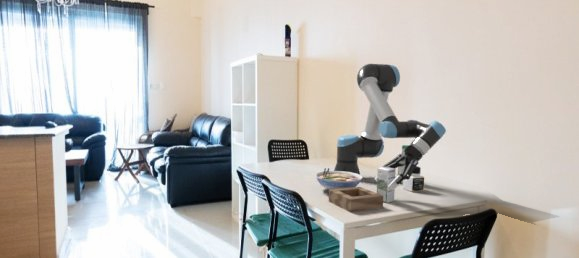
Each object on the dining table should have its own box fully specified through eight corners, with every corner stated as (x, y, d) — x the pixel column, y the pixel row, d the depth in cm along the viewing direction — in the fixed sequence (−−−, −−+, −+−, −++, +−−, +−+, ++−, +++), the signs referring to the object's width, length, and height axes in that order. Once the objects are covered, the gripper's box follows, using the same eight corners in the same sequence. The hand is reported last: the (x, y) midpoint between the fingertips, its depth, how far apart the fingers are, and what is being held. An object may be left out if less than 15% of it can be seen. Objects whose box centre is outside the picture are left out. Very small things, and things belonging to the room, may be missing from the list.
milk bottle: (401, 184, 188) (403, 146, 186) (394, 181, 195) (396, 144, 194) (415, 184, 189) (417, 146, 188) (407, 181, 197) (409, 144, 196)
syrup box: (394, 201, 157) (396, 168, 155) (386, 203, 153) (388, 169, 152) (383, 198, 161) (385, 166, 160) (375, 200, 157) (377, 167, 156)
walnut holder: (328, 201, 154) (329, 189, 153) (359, 197, 161) (359, 186, 160) (350, 212, 140) (350, 199, 139) (382, 207, 146) (383, 195, 146)
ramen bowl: (362, 199, 158) (363, 181, 157) (310, 195, 163) (311, 177, 162) (362, 186, 182) (363, 170, 182) (317, 183, 187) (318, 167, 186)
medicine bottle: (412, 192, 173) (413, 167, 172) (402, 188, 179) (403, 165, 178) (423, 191, 175) (425, 166, 174) (413, 187, 182) (415, 164, 181)
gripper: (438, 161, 146) (402, 198, 144) (407, 152, 170) (376, 183, 169) (427, 148, 145) (391, 185, 143) (397, 140, 169) (366, 172, 167)
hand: (383, 184), depth 156 cm, fingers open, 13 cm apart
